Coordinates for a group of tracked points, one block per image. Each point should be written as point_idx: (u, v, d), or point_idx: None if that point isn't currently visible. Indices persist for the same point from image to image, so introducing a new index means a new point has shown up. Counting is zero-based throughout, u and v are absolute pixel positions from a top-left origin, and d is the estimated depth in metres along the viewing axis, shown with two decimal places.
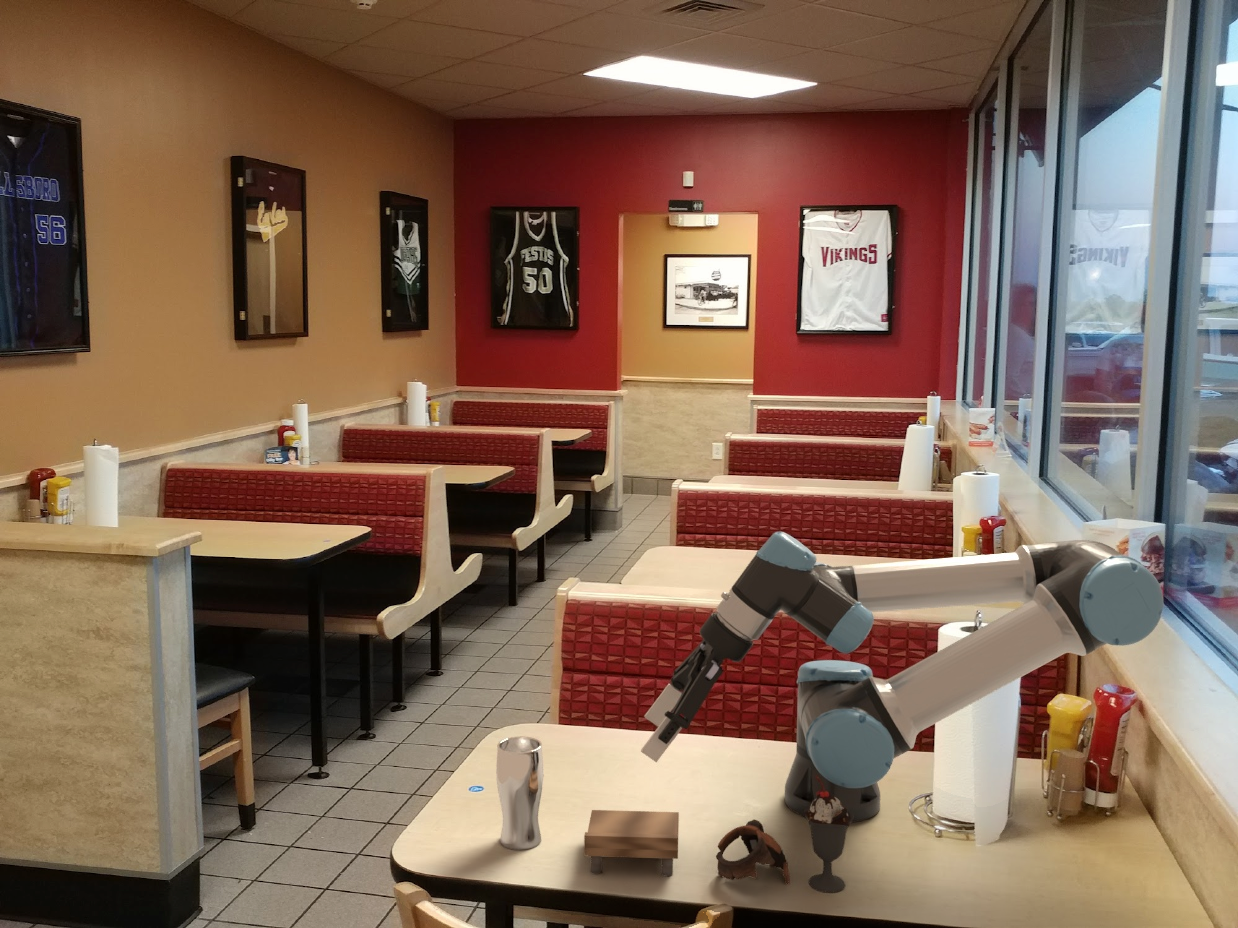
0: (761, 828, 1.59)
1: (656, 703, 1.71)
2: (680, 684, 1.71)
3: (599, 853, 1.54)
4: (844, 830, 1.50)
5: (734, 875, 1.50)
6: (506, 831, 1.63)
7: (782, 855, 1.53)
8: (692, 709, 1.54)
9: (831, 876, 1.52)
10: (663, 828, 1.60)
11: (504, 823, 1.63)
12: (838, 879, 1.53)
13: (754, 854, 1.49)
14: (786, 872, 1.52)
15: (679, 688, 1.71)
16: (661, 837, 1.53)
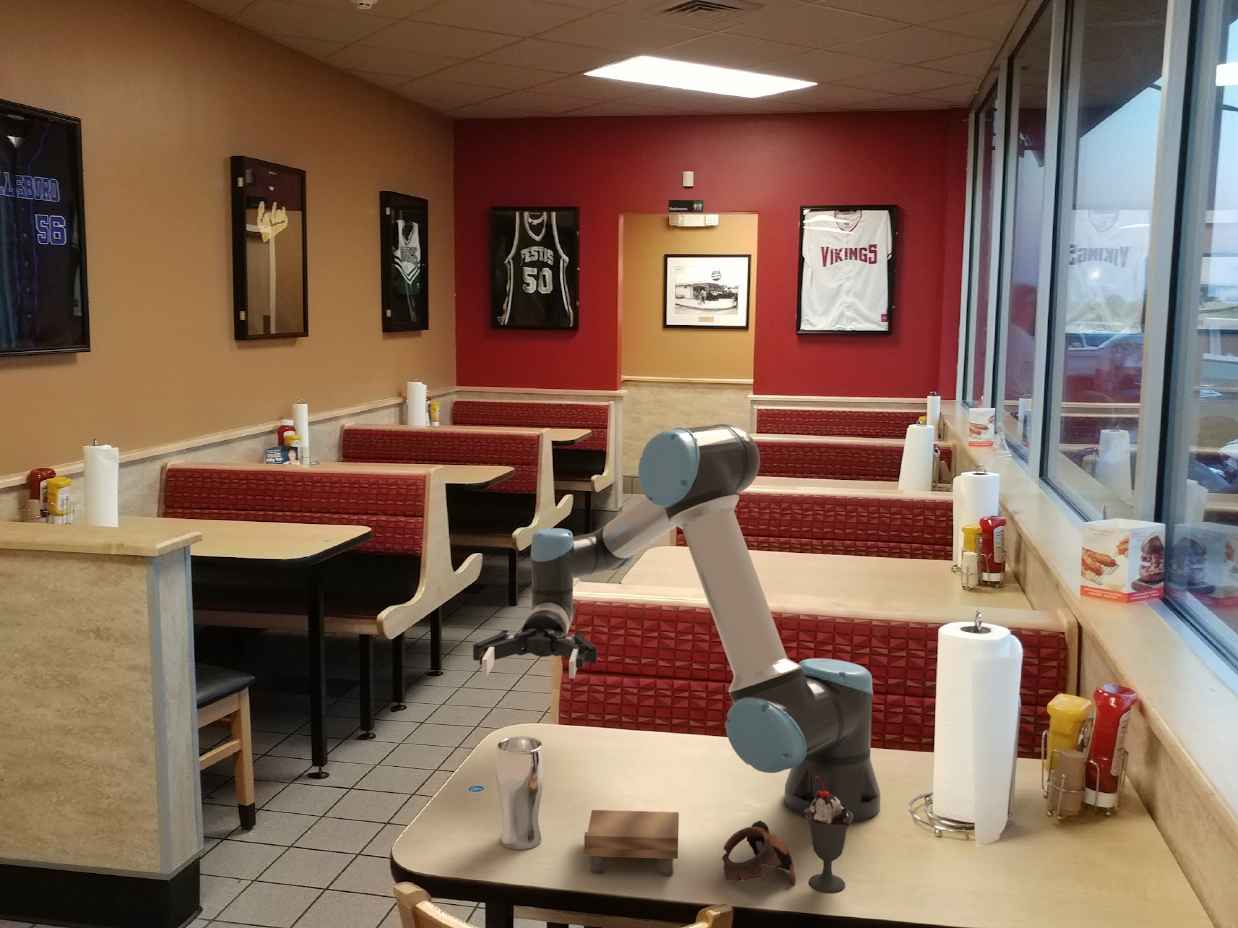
0: (766, 829, 1.59)
1: None
2: None
3: (599, 853, 1.54)
4: (844, 830, 1.50)
5: (740, 877, 1.49)
6: (506, 831, 1.63)
7: (788, 856, 1.53)
8: None
9: (831, 876, 1.52)
10: (663, 828, 1.60)
11: (504, 823, 1.63)
12: (838, 879, 1.53)
13: (761, 855, 1.49)
14: (792, 873, 1.52)
15: None
16: (661, 837, 1.53)
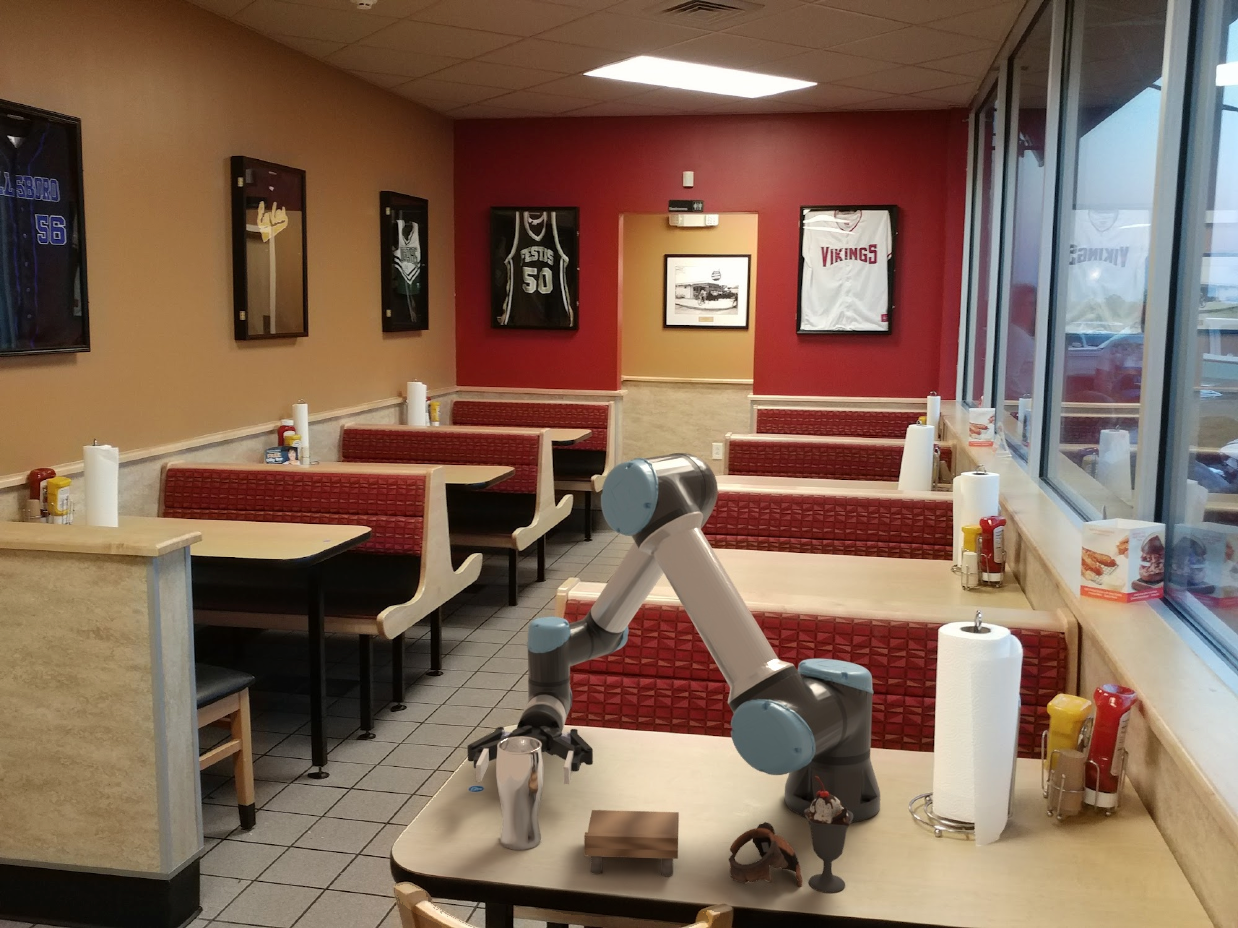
0: (772, 831, 1.58)
1: None
2: None
3: (599, 853, 1.54)
4: (844, 830, 1.50)
5: (747, 879, 1.49)
6: (506, 831, 1.63)
7: (795, 858, 1.52)
8: None
9: (831, 876, 1.52)
10: (663, 828, 1.60)
11: (504, 823, 1.63)
12: (838, 879, 1.53)
13: (768, 857, 1.48)
14: (799, 875, 1.51)
15: (573, 755, 1.76)
16: (661, 837, 1.53)
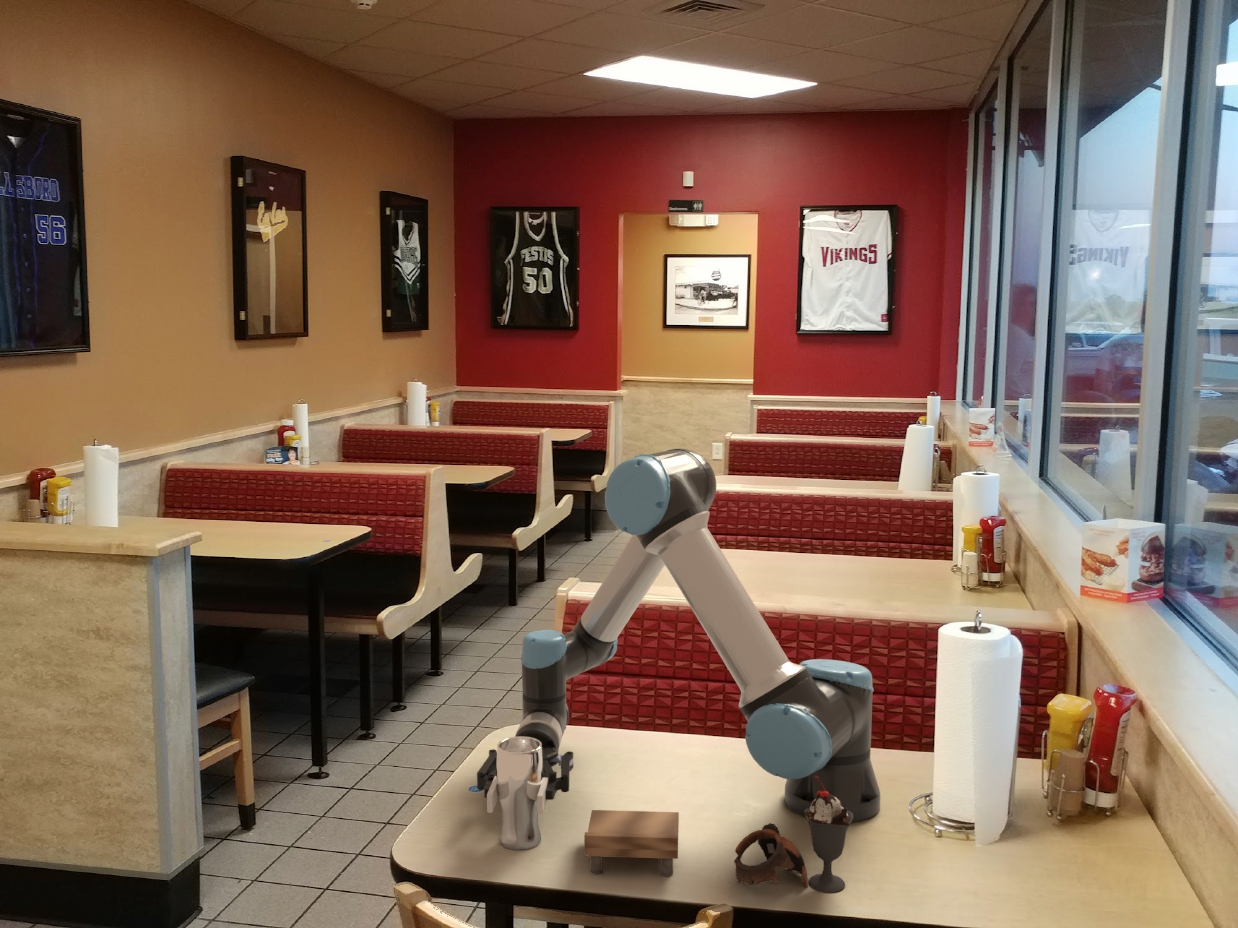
0: (777, 832, 1.58)
1: None
2: None
3: (599, 853, 1.54)
4: (844, 830, 1.50)
5: (753, 880, 1.49)
6: (506, 831, 1.63)
7: (800, 859, 1.52)
8: None
9: (831, 876, 1.52)
10: (663, 828, 1.60)
11: (504, 823, 1.63)
12: (838, 879, 1.53)
13: (774, 858, 1.48)
14: (805, 876, 1.51)
15: (547, 781, 1.66)
16: (661, 837, 1.53)
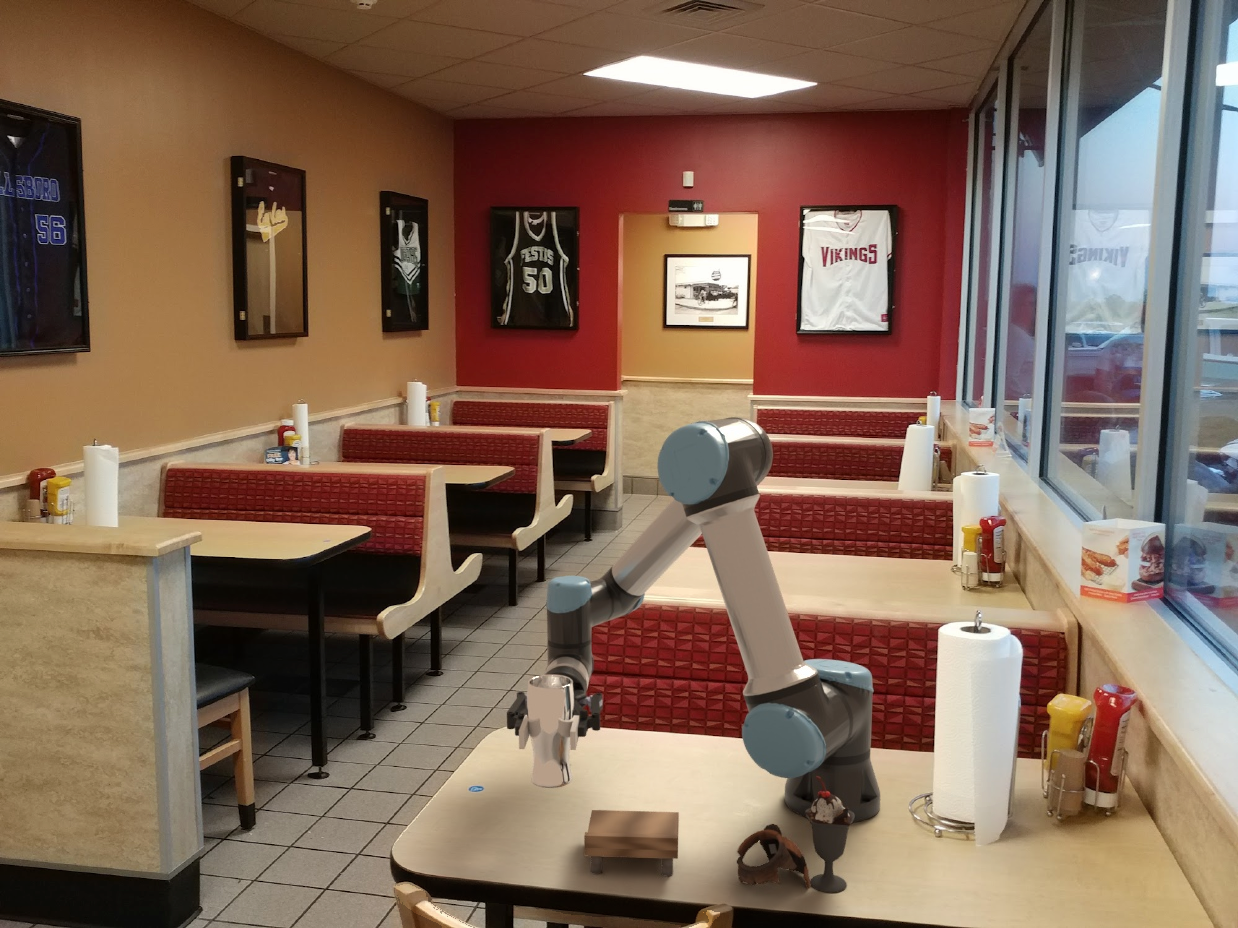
0: (779, 832, 1.58)
1: None
2: None
3: (599, 853, 1.54)
4: (845, 830, 1.50)
5: (755, 881, 1.48)
6: (537, 769, 1.61)
7: (803, 859, 1.52)
8: None
9: (832, 876, 1.52)
10: (663, 828, 1.60)
11: (535, 761, 1.61)
12: (839, 879, 1.53)
13: (776, 859, 1.48)
14: (807, 876, 1.51)
15: (578, 719, 1.64)
16: (661, 837, 1.53)
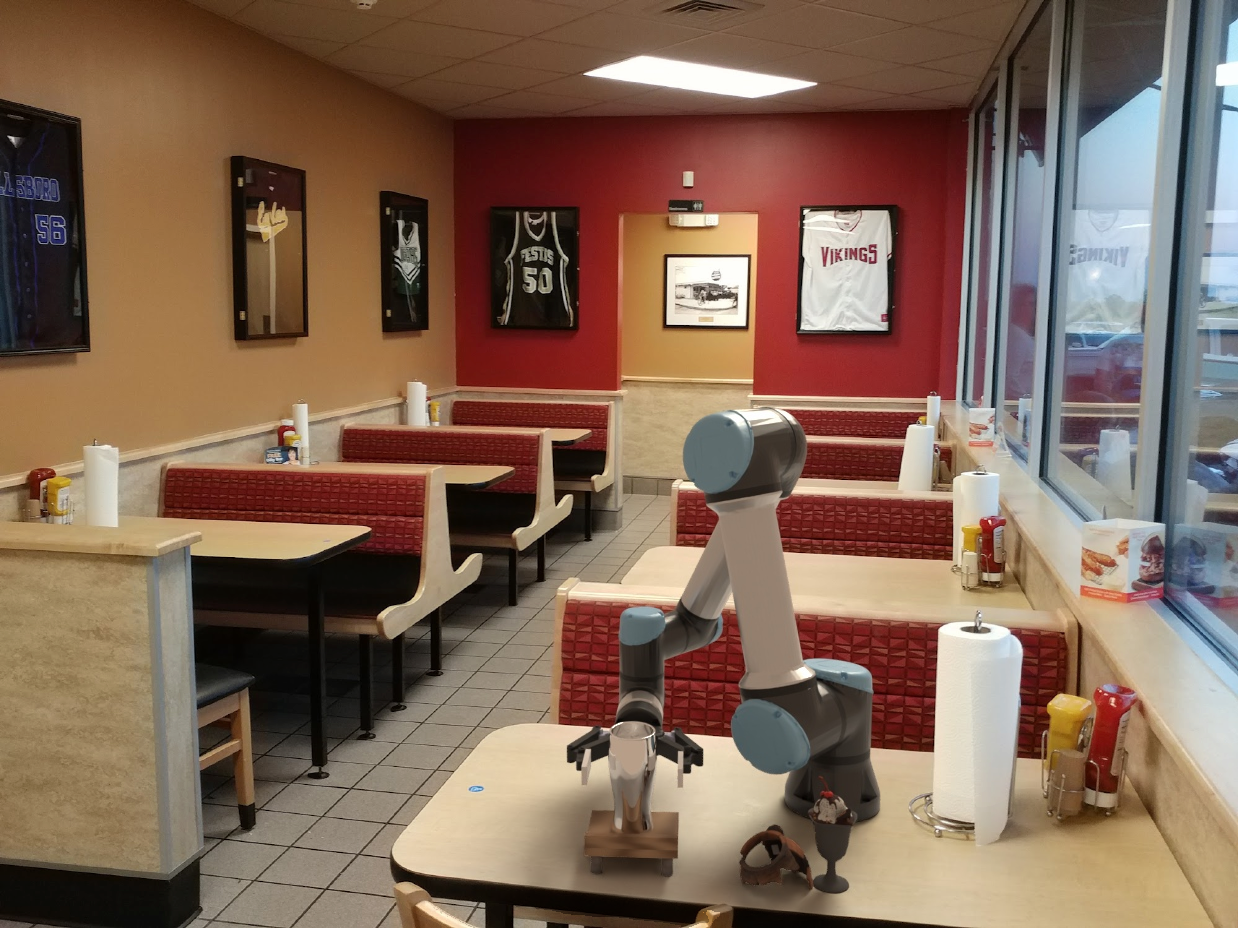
0: (782, 833, 1.58)
1: None
2: None
3: (599, 853, 1.54)
4: (848, 830, 1.50)
5: (758, 881, 1.48)
6: (619, 819, 1.57)
7: (805, 860, 1.52)
8: None
9: (835, 876, 1.52)
10: (663, 828, 1.60)
11: (617, 811, 1.58)
12: (842, 879, 1.53)
13: (779, 859, 1.48)
14: (810, 877, 1.51)
15: (682, 756, 1.61)
16: (661, 837, 1.53)
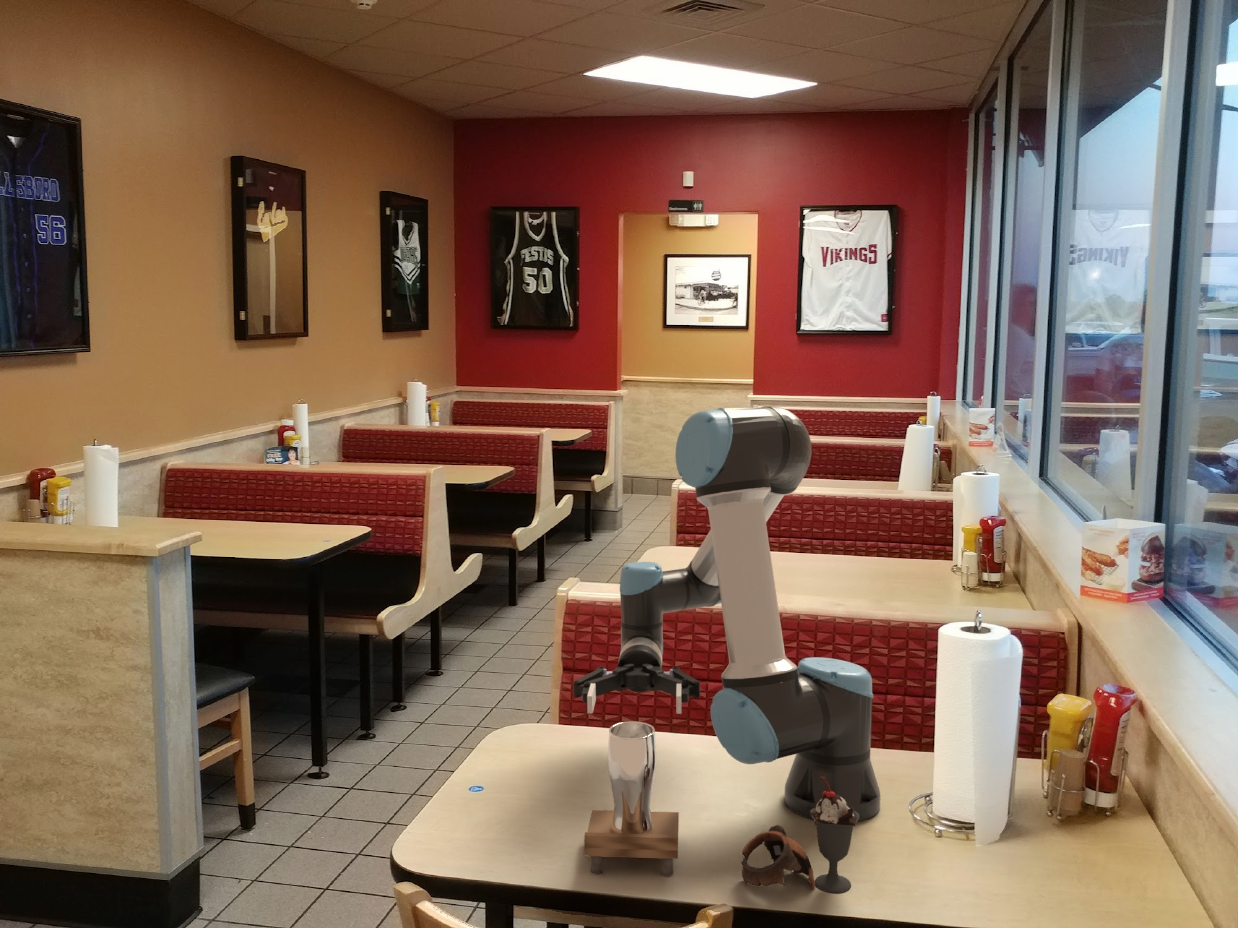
0: (784, 833, 1.58)
1: None
2: None
3: (599, 853, 1.54)
4: (850, 830, 1.50)
5: (760, 882, 1.48)
6: (619, 819, 1.57)
7: (807, 861, 1.51)
8: None
9: (837, 876, 1.52)
10: (663, 828, 1.60)
11: (617, 811, 1.58)
12: (844, 879, 1.53)
13: (781, 860, 1.48)
14: (812, 878, 1.51)
15: (681, 688, 1.75)
16: (661, 837, 1.53)
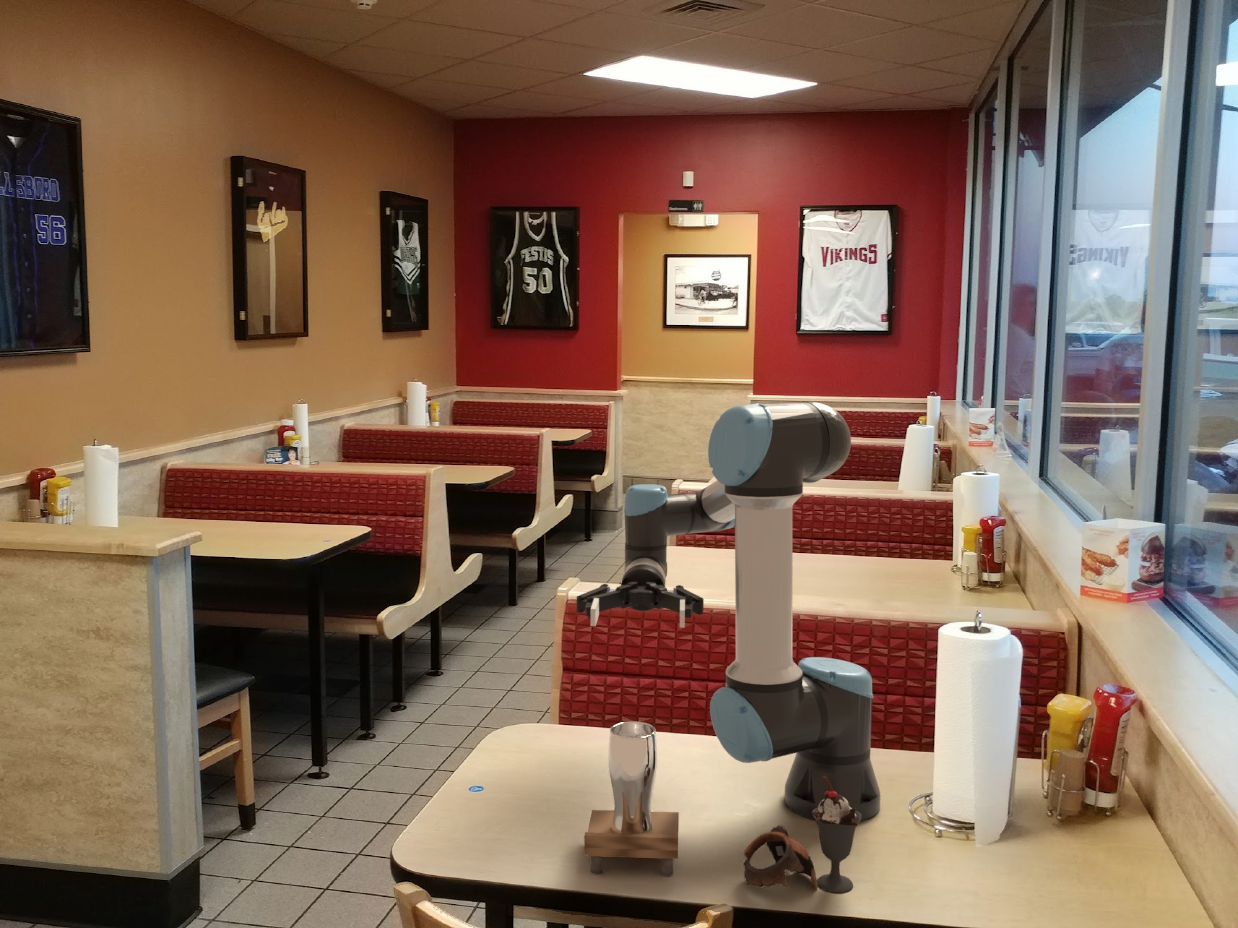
0: (786, 834, 1.57)
1: None
2: None
3: (599, 853, 1.54)
4: (852, 830, 1.50)
5: (763, 883, 1.48)
6: (619, 819, 1.57)
7: (810, 861, 1.51)
8: None
9: (839, 876, 1.52)
10: (663, 828, 1.60)
11: (617, 811, 1.58)
12: (846, 879, 1.53)
13: (783, 861, 1.47)
14: (814, 878, 1.50)
15: (684, 604, 1.75)
16: (661, 837, 1.53)
